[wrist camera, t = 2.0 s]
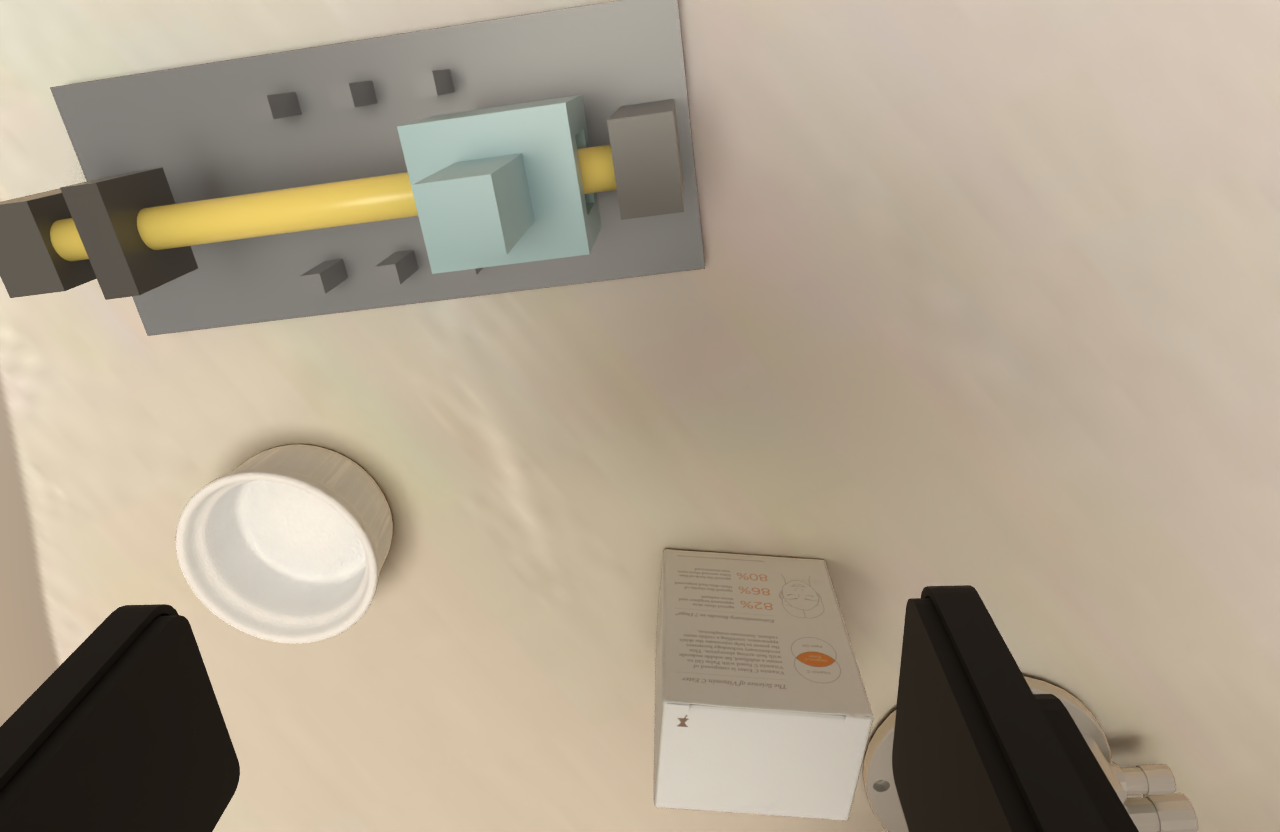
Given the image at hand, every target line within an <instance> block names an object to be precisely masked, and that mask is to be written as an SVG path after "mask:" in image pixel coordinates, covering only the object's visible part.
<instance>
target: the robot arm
mask: <svg viewBox="0 0 1280 832" xmlns="http://www.w3.org/2000/svg"><path fill="white" fill-rule="evenodd" d="M239 775H240V767H239V762H238V759H237V756H236V753H235V750H234V747H233V745H232V742H231V739H230V736H229V733H228V730H227V728H226V725H225V722H224V719H223V716H222V713H221V711H220V708H219V705H218V702H217V699H216V697H215V694H214V691H213V688H212V685H211V682H210V680H209V677H208V674H207V671H206V668H205V665H204V663H203V660H202V657H201V654H200V651H199V648H198V646H197V643H196V640H195V637H194V634H193V632H192V629H191V626H190V624H189V622H188V620H187V619H186V618H185V617H184V616H180V615H178V613H177V611H176V610H175V609H174V608H173V607H172V606H169V605H126V606H122V607H119V608H118V609H116V610H115V611H114V612H112V613H111V614H110V615H109V616H108V617H107V618H106V619H105V620H104V621H103V623H102V624H101V625H100V626H99V627H98V628H97V629H96V630H95V631H94V632H93V633H92V634H91V635H90V636H89V637H88V638H87V639H86V640H85V641H84V642H83V643H82V644H81V645H80V646H79V647H78V648H77V649H76V650H75V651H74V652H73V653H72V654H71V655H70V656H69V657H68V658H67V659H66V660H65V661H64V662H63V663H62V664H61V666H60V667H59V668H58V669H57V670H56V671H55V672H54V673H53V674H52V675H51V676H50V677H49V678H48V679H47V680H46V681H45V682H44V683H43V684H42V685H41V686H40V687H39V688H38V689H37V690H36V691H35V692H34V693H33V694H32V695H31V696H30V697H29V698H28V699H27V700H26V701H25V702H24V703H23V704H22V705H21V707H20V708H19V709H18V710H17V711H16V712H15V713H14V714H13V715H12V716H11V717H10V718H9V719H8V720H7V721H6V722H5V723H4V724H3V725H2V726H1V727H0V832H212V831H213V829H214V828H215V826H216V824H217V822H218V821H219V819H220V817H221V816H222V814H223V812H224V810H225V809H226V807H227V805H228V803H229V802H230V800H231V798H232V797H233V795H234V793H235V791H236V788H237V785H238V782H239ZM863 779H864V783H865V788H866V793H867V797H868V800H869V803H870V805H871V808H872V811H873V813H874V814H875V816H876V817H877V819H878V820H879V821H880V823H881V824H882V826H883V827H884V828H886V829H887V830H888V831H889V832H1197V830H1198V823H1197V817H1196V814H1195V811H1194V808H1193V806H1192V804H1191V802H1190V801H1189V799H1188V798H1187V797H1186V796H1185V795H1184V794H1181V793H1174V792H1175V791H1176V784H1175V780H1174V776H1173V774H1172V772H1171V770H1170V768H1169V767H1168V766H1167V765H1165V764H1158V765H1142V766H1136V767H1132V768H1119V766H1118V765H1117V764H1115V763H1114V762H1111V751H1110V747H1109V744H1108V742H1107V739H1106V736H1105V733H1104V732H1103V730H1102V729H1101V727H1100V725H1099V724H1098V722H1097V721H1096V719H1095V717H1094V716H1093V714H1092V713H1091V712H1090V711H1089V710H1088V709H1087V708H1086V707H1085V705H1084V704H1083V703H1082V702H1081V701H1080V700H1078V699H1077V698H1075V697H1074V696H1073V695H1071V694H1070V693H1068V692H1067V691H1065V690H1064V689H1061V688H1059V687H1057V686H1054V685H1052V684H1050V683H1047V682H1045V681H1042V680H1037V679H1033V678H1029V677H1025V676H1023V675H1022V673H1021V671H1020V669H1019V667H1018V665H1017V664H1016V662H1015V660H1014V658H1013V656H1012V654H1011V653H1010V651H1009V649H1008V647H1007V645H1006V644H1005V642H1004V640H1003V638H1002V636H1001V634H1000V633H999V631H998V629H997V627H996V625H995V624H994V622H993V620H992V618H991V616H990V614H989V613H988V611H987V609H986V607H985V605H984V603H983V602H982V600H981V598H980V596H979V594H978V593H977V591H976V590H975V588H974V587H972V586H927V587H925V588H924V589H923V591H922V594H921V598H917V599H909V600H908V602H907V607H906V615H905V626H904V636H903V646H902V657H901V667H900V677H899V688H898V698H897V708H896V710H895V711H894V712H892V713H891V714H890V715H889V716H888V718H887V719H886V720H885V721H884V722H883V723H882V724H881V726H880V727H879V728H878V729H877V731H876V733H875V734H874V736H873V738H872V740H871V741H870V743H869V745H868V748H867V752H866V755H865V758H864V766H863ZM1138 794H1144V796H1143V797H1140V798H1127V795H1138Z"/></svg>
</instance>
